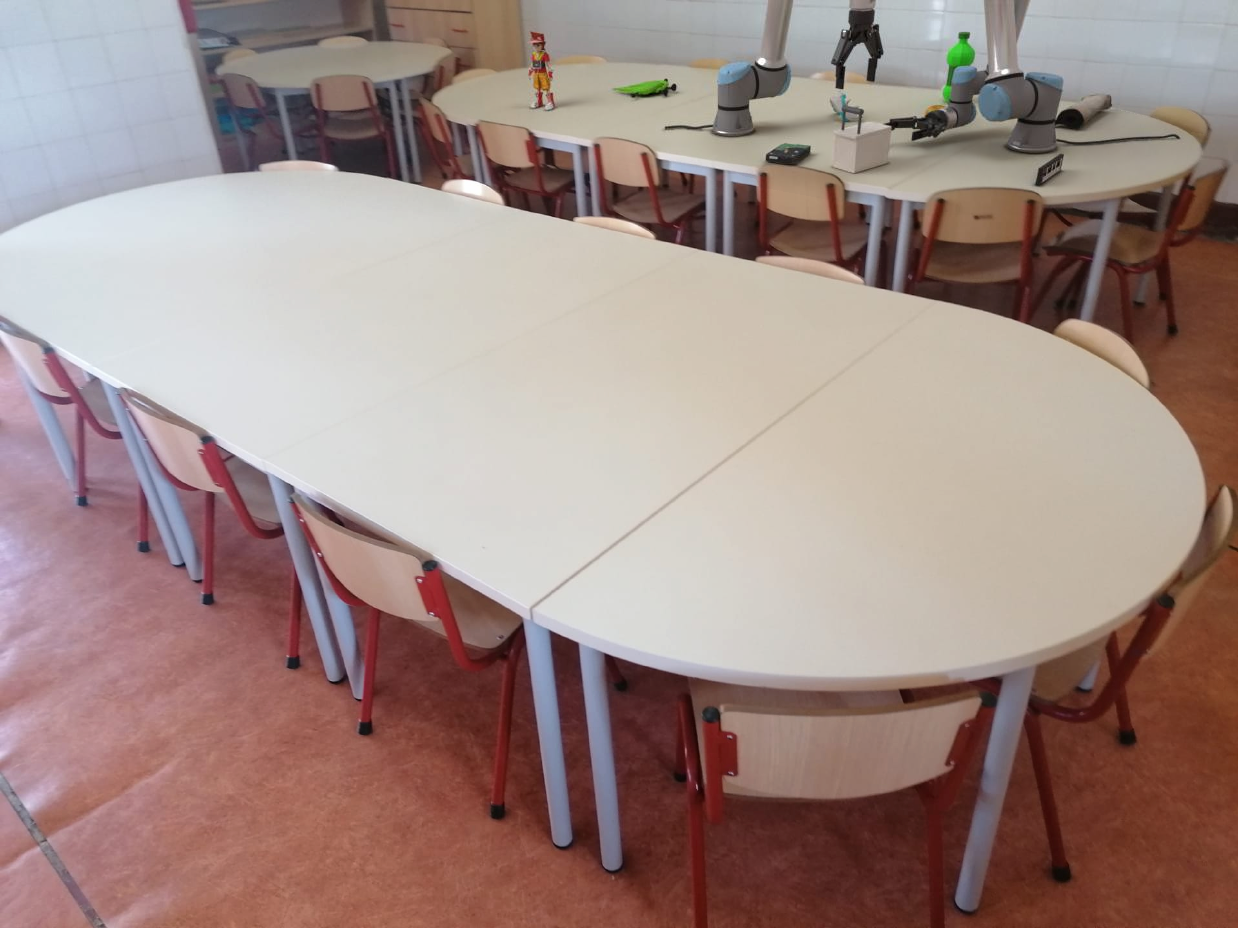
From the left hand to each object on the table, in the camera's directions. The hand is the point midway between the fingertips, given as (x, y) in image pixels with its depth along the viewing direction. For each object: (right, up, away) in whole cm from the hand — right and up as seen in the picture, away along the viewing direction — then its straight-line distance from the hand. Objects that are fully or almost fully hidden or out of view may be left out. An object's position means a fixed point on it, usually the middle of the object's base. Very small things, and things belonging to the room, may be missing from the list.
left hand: (855, 85), depth 278 cm
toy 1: (-106, +35, +105) cm, 153 cm away
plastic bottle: (+60, +26, +77) cm, 101 cm away
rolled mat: (+95, +8, +48) cm, 107 cm away
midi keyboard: (+59, -30, -3) cm, 66 cm away
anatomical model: (+13, +16, +67) cm, 70 cm away
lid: (+5, -10, +11) cm, 16 cm away
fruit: (+43, +7, +51) cm, 67 cm away
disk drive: (-16, -13, +27) cm, 34 cm away
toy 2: (-64, +47, +119) cm, 143 cm away
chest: (+6, -19, +17) cm, 26 cm away
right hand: (+19, -7, +21) cm, 29 cm away
